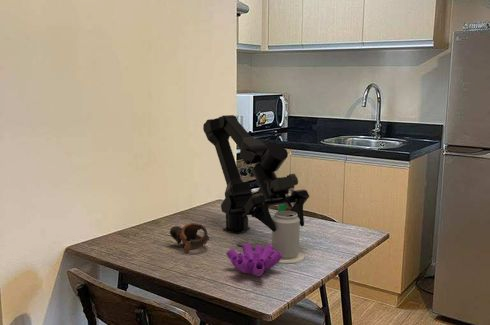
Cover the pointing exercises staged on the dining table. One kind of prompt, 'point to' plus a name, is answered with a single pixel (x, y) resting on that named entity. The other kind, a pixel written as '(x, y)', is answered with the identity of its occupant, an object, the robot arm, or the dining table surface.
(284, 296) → the dining table surface
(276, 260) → the purple tube coral sculpture
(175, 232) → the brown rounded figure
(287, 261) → the disc
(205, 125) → the robot arm
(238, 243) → the thin grey rod
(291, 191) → the food container
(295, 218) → the can
